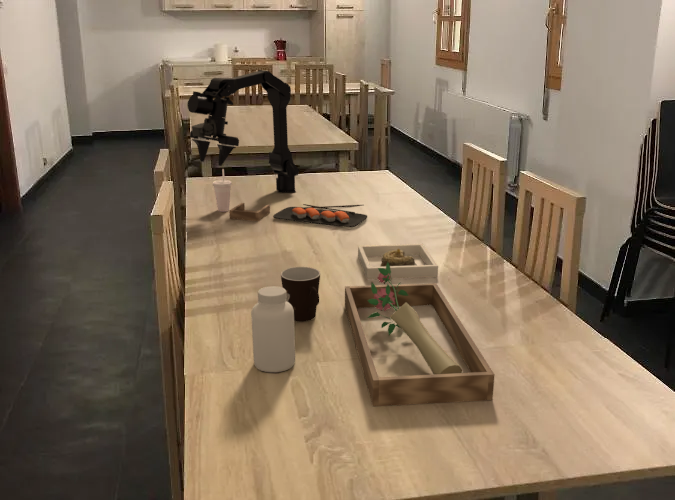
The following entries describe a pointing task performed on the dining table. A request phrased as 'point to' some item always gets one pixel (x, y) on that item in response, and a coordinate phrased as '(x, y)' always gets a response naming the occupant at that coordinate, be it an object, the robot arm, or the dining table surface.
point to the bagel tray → (398, 271)
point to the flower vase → (411, 326)
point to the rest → (248, 213)
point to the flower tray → (421, 386)
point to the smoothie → (222, 193)
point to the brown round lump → (397, 259)
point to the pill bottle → (273, 331)
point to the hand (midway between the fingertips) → (210, 163)
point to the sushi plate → (322, 215)
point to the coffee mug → (302, 291)
